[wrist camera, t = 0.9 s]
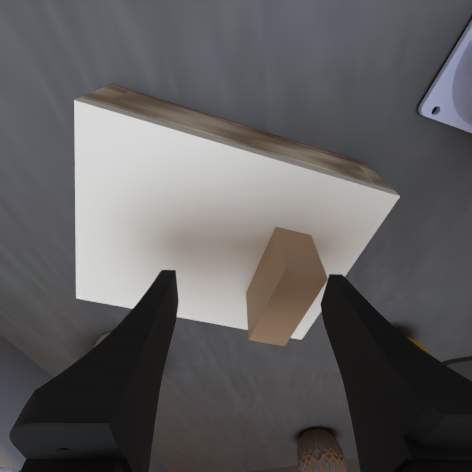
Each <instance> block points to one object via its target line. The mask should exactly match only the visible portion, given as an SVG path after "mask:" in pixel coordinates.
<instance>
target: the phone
mask: <svg viewBox="0 0 472 472" xmlns="http://www.w3.org/2000/svg"><path fill="white" fill-rule="evenodd" d="M442 363H443V364H444V365H446V366H447V367H449V368H451V369H452V370H454V371H455V372H457V373H459V374H460V375H462V376H463V377H465V378H467V379H469V380H470V381H472V356H471V357H464V358H458V359H452V360H447V361H444V362H442Z"/></svg>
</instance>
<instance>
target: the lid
mask: <svg viewBox="0 0 472 472" xmlns="http://www.w3.org/2000/svg"><path fill="white" fill-rule="evenodd" d="M74 117H75V230H76V298H77V299H82V300H88V301H93V302H99V303H104V304H110V305H115V306H120V307H126V308H131V309H133V308H134V307H135V306H136V304H137V303H138V302H139V301H140V299H141V298H142V297H143V296H144V294H145V293H146V292H147V290H148V289H149V287H150V286H151V285H152V283H153V282H154V280H155V279H156V277H157V276H158V274H159V273H160V271H162V270H176V280H177V290H178V301H179V302H178V309H177V316H176V317H180V318H186V319H191V320H196V321H202V322H207V323H213V324H218V325H224V326H229V327H235V328H240V329H245V330H248V339H249V340H251V341H257V342H263V343H268V344H274V345H280V346H285V345H286V343H287V342H288V340H289V339H290V338H294V339H300V340H302V338H303V337H304V336H305V334H306V333H307V331H308V330H309V328H310V327H311V325H312V324H313V322H314V321H315V320H316V318H317V317H318V315H319V314H320V312H321V311H322V310H321V305H320V304H321V301H322V297H323V294H324V291H325V287H326V284H327V281H328V278H329V274H340V275H343V276H344V277H345V276H346V274H347V273H348V272H349V270H350V269H351V267H352V266H353V264H354V263H355V261H356V260H357V258H358V257H359V256H360V254H361V253H362V251H363V250H364V248H365V247H366V245H367V244H368V242H369V241H370V240H371V238H372V237H373V235H374V234H375V232H376V231H377V229H378V228H379V226H380V225H381V224H382V222H383V221H384V219H385V218H386V216H387V215H388V213H389V212H390V211H391V209H392V208H393V206H394V205H395V203H396V202H397V200H398V199H399V197H400V196H399V195H398V194H397V193H396V192H395V191H394V190H391V189H388V188H385V187H381V186H378V185H375V184H371V183H368V182H365V181H361V180H358V179H354V178H351V177H348V176H344V175H341V174H338V173H334V172H331V171H328V170H324V169H321V168H318V167H314V166H311V165H308V164H304V163H301V162H297V161H294V160H291V159H287V158H284V157H281V156H277V155H274V154H271V153H267V152H264V151H261V150H257V149H254V148H251V147H247V146H244V145H241V144H237V143H234V142H230V141H227V140H224V139H220V138H217V137H214V136H210V135H207V134H204V133H200V132H197V131H194V130H190V129H187V128H184V127H180V126H177V125H173V124H170V123H167V122H163V121H160V120H157V119H153V118H150V117H147V116H143V115H140V114H137V113H133V112H130V111H127V110H123V109H120V108H117V107H113V106H110V105H106V104H103V103H100V102H96V101H93V100H90V99H86V98H83V97H80V98H78V99H76V100H74Z"/></svg>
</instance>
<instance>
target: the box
mask: <svg viewBox="0 0 472 472" xmlns="http://www.w3.org/2000/svg"><path fill="white" fill-rule="evenodd" d="M84 98H86V99H90V100H93V101H96V102H100V103H103V104H106V105H110V106H113V107H117V108H120V109H123V110H127V111H130V112H133V113H137V114H140V115H143V116H147V117H150V118H153V119H157V120H160V121H163V122H167V123H170V124H173V125H177V126H180V127H184V128H187V129H190V130H194V131H197V132H200V133H204V134H207V135H210V136H214V137H217V138H220V139H224V140H227V141H230V142H234V143H237V144H241V145H244V146H247V147H251V148H254V149H257V150H261V151H264V152H267V153H271V154H274V155H277V156H281V157H284V158H287V159H291V160H294V161H297V162H301V163H304V164H308V165H311V166H314V167H318V168H321V169H324V170H328V171H331V172H334V173H338V174H341V175H344V176H348V177H351V178H354V179H358V180H361V181H365V182H368V183H371V184H375V185H378V186H381V187H385V188H388V189H392V188H391V187H390V186H389V185H388V184H387V183H386V182H385V181H384V180H383V179H382V178H381V177H380V176H379V175H378V174H377V173H376V172H375V171H374V170H373V169H372V168H371V167H370V166H369V165H368V164H366V163H363V162H359V161H356V160H353V159H350V158H347V157H343V156H340V155H337V154H334V153H331V152H327V151H324V150H321V149H318V148H314V147H311V146H308V145H305V144H302V143H298V142H295V141H292V140H289V139H285V138H282V137H279V136H276V135H273V134H269V133H266V132H263V131H260V130H257V129H253V128H250V127H247V126H244V125H240V124H237V123H234V122H231V121H228V120H224V119H221V118H218V117H215V116H211V115H208V114H205V113H202V112H199V111H195V110H192V109H189V108H186V107H182V106H179V105H176V104H173V103H170V102H166V101H163V100H160V99H157V98H154V97H150V96H147V95H144V94H141V93H137V92H134V91H131V90H128V89H125V88H121V87H118V86H115V85H112V84H110V85H107V86H105V87H103V88H101V89H98V90H96V91H94V92H92V93H89V94H87V95H85V96H84Z"/></svg>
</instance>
